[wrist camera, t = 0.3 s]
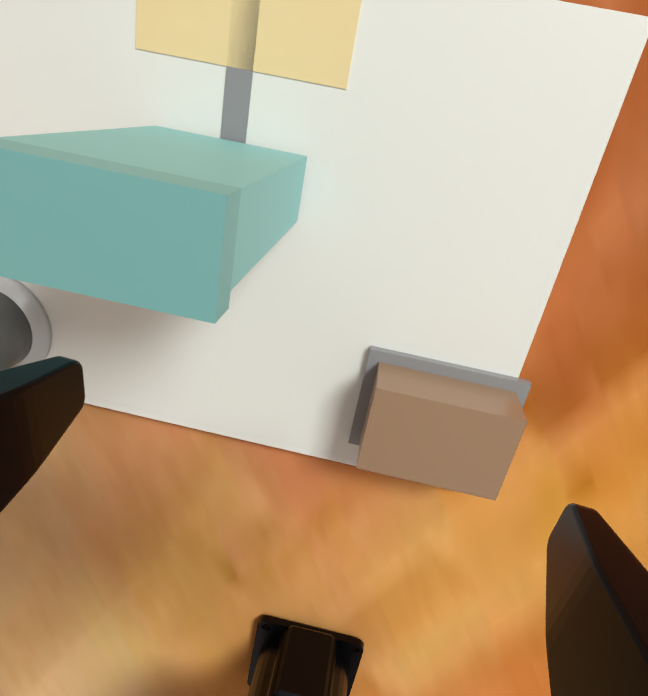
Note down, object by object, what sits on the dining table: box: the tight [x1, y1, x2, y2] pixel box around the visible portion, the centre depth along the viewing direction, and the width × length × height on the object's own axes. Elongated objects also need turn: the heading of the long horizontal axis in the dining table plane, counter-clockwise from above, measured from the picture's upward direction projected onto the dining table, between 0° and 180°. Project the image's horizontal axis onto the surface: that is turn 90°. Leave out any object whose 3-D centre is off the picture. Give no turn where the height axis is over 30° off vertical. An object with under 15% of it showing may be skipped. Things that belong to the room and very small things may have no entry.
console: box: [0, 0, 648, 501], centre depth 21 cm, size 20×27×4 cm
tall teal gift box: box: [0, 126, 307, 324], centre depth 16 cm, size 3×6×11 cm, turn 80°
